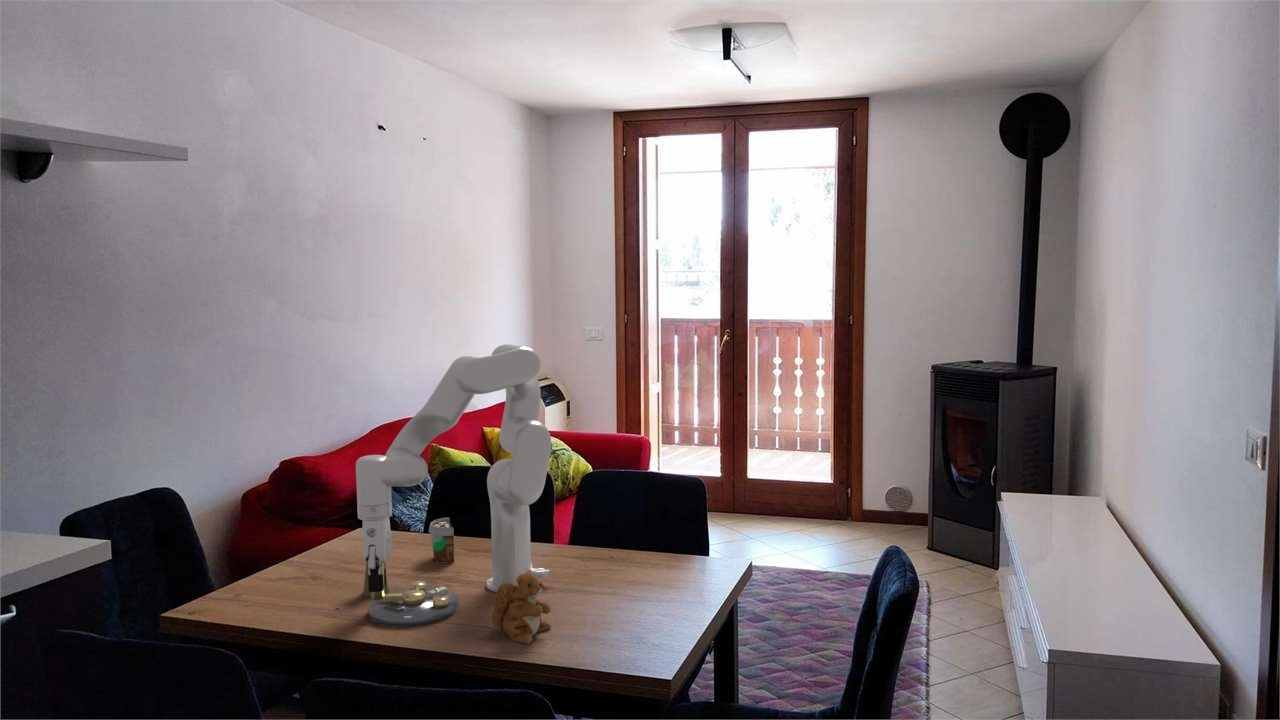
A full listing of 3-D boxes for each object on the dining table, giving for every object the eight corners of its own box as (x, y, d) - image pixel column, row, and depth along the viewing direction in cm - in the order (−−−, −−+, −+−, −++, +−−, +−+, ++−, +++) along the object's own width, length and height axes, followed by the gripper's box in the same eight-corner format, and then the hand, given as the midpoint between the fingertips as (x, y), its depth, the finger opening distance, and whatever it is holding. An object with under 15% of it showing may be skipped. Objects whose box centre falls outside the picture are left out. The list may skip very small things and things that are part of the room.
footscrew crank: (426, 597, 207) (425, 558, 206) (423, 604, 202) (422, 564, 201) (373, 599, 205) (372, 560, 204) (369, 607, 200) (368, 567, 199)
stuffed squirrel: (530, 646, 183) (529, 584, 182) (477, 634, 190) (476, 574, 189) (558, 630, 191) (557, 570, 190) (506, 618, 198) (505, 561, 197)
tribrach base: (461, 593, 215) (461, 578, 215) (454, 624, 195) (453, 607, 195) (377, 597, 213) (376, 582, 212) (361, 629, 193) (360, 612, 193)
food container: (428, 553, 248) (426, 518, 247) (450, 551, 250) (449, 516, 249) (431, 566, 236) (430, 530, 235) (454, 564, 238) (453, 527, 237)
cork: (381, 597, 213) (379, 552, 212) (358, 595, 214) (356, 551, 213) (393, 588, 219) (391, 545, 218) (370, 587, 220) (369, 544, 219)
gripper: (385, 518, 193) (388, 600, 195) (397, 500, 210) (399, 576, 211) (350, 520, 193) (353, 602, 194) (364, 502, 209) (367, 578, 210)
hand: (377, 587), depth 203 cm, fingers closed on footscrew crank, 3 cm apart
